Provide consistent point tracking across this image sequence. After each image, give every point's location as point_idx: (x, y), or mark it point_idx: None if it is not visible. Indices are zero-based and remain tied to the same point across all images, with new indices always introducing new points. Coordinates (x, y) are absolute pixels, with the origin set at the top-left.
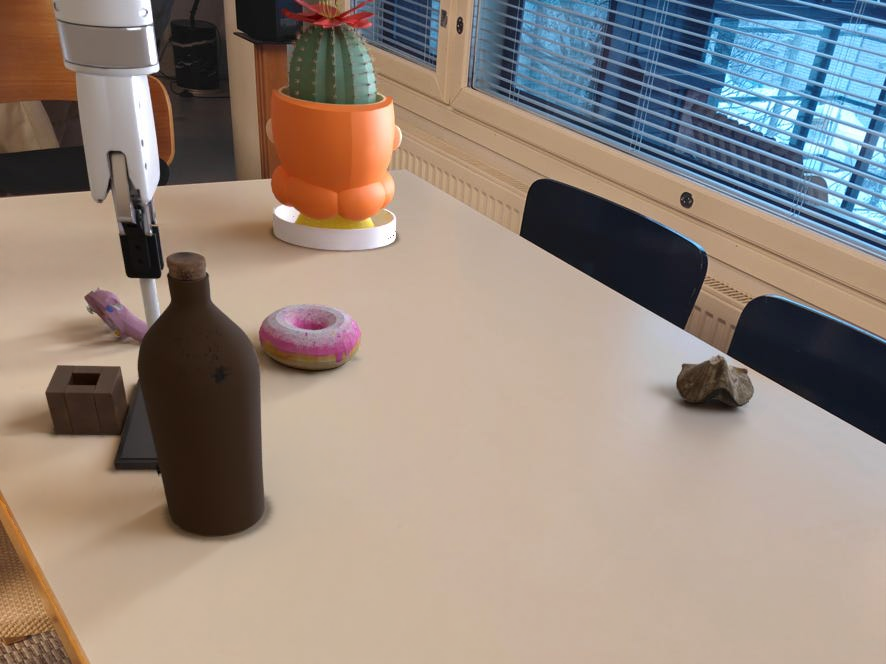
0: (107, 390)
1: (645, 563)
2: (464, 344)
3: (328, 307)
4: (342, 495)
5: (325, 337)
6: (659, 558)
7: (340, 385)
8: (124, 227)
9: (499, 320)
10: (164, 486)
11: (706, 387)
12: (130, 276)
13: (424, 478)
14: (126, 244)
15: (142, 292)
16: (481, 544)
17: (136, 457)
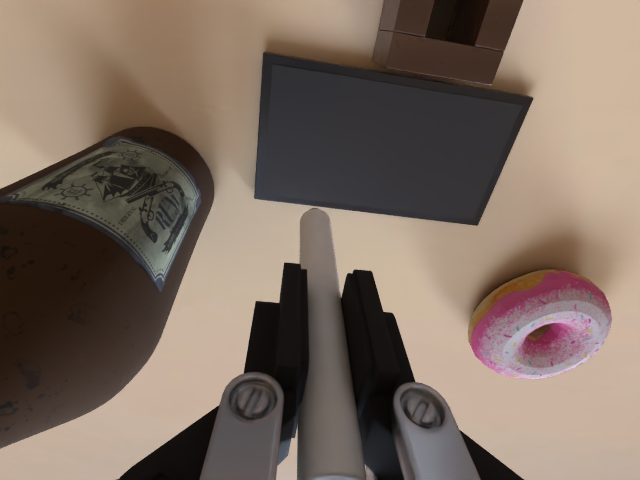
0: (398, 60)
1: (107, 451)
2: (485, 424)
3: (573, 364)
4: (196, 300)
5: (492, 351)
6: (115, 458)
7: (435, 326)
8: (174, 441)
9: (523, 452)
10: (102, 141)
11: None
12: (283, 270)
13: (228, 362)
14: (277, 347)
15: (309, 258)
16: None
17: (272, 89)
